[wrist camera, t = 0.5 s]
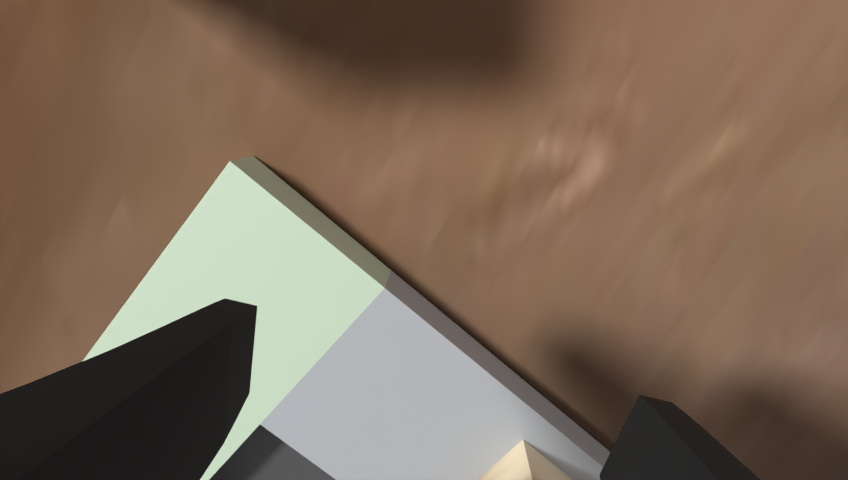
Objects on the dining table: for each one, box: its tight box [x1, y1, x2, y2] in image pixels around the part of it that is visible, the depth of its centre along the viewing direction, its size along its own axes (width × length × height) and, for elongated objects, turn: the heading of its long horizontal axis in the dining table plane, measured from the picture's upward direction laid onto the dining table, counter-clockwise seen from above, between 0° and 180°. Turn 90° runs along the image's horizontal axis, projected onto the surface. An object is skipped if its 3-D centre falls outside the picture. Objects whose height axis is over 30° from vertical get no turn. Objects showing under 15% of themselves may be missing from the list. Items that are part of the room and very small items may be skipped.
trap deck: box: [83, 156, 610, 480], centre depth 20 cm, size 16×21×2 cm
